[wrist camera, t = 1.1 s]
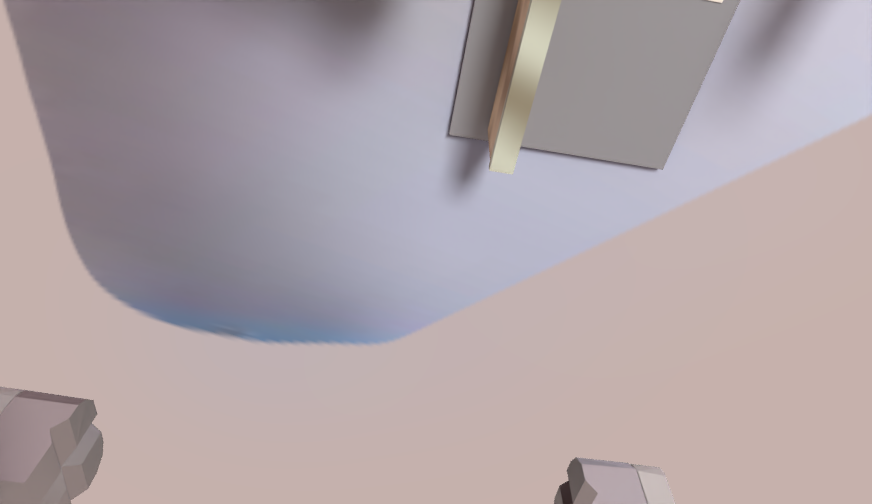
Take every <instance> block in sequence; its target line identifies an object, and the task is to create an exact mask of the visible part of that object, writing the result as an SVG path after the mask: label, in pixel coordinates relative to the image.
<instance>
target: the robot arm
mask: <svg viewBox="0 0 872 504" xmlns="http://www.w3.org/2000/svg"><path fill="white" fill-rule="evenodd" d="M96 415H97V412H96V408H95V405H94V401H93V400H88V399H81V398H74V397H68V396H61V395H54V394H48V393H41V392H34V391H27V390H19V389H12V388H4V387H0V504H71V500H72V499H73V498H75V497H76V496H78V495H79V494H81V493H82V492H84V491H85V490H87V489H88V488H89V486H90V484H91V482H92V480H93V479H94V477H95V475H96V473H97V470H98V467H99V464H100V461H101V458H102V454H103V438H102V433H101V431H100V430H98V428H96V427H95V426H94V425H93V424H92V421H93V420H94V418H95V416H96ZM567 474H568V479H569V481H567V482H565V483H564V484H562V485H560V486H559V489H558V491H557V494H556V496H555V500H554V504H676V503H675V500H674V498H673V495H672V492H671V489H670V487H669V484H668V481H667V479H666V476H665V473H664V472H663V471H662V470H661V469H660V468H658V467H651V466H642V465H634V464H628V463H623V462H613V461H604V460H594V459H584V458H575V459H573V460H572V461H571V463H570V465H569V467H568V469H567Z"/></svg>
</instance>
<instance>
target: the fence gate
mask: <svg viewBox="0 0 872 504" xmlns="http://www.w3.org/2000/svg"><path fill="white" fill-rule="evenodd" d="M560 4H561V0H518V4H517V8H516V12H515V16H514V20H513V25H512V29H511V33H510V37H509V41H508V46H507V50H506V54H505V58H504V63H503V67H502V71H501V75H500V79H499V84H498V88H497V92H496V96H495V101H494V105H493V109H492V113H491V117H490V122H489V126H488V141H489V152H490V164H489V171H495V172H501V173H507V174H513V172H514V168H515V164H516V161H517V157H518V154H519V150H520V147H521V143H522V139H523V136H524V132H525V129H526V125H527V122H528V118H529V114H530V111H531V107H532V104H533V100H534V97H535V93H536V89H537V86H538V82H539V79H540V75H541V72H542V68H543V64H544V61H545V57H546V54H547V50H548V47H549V43H550V39H551V36H552V32H553V29H554V25H555V22H556V18H557V14H558V11H559V7H560Z"/></svg>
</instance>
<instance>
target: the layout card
mask: <svg viewBox="0 0 872 504" xmlns="http://www.w3.org/2000/svg"><path fill="white" fill-rule="evenodd" d="M739 2H740V0H561V4H560V7H559V11H558V14H557V18H556V22H555V25H554V29H553V32H552V36H551V39H550V43H549V47H548V50H547V54H546V57H545V61H544V64H543V68H542V72H541V75H540V79H539V82H538V86H537V89H536V93H535V97H534V100H533V104H532V107H531V111H530V114H529V118H528V122H527V125H526V129H525V132H524V136H523V139H522V143H521V147H527V148H533V149H539V150H546V151H552V152H558V153H564V154H570V155H576V156H582V157H589V158H595V159H601V160H607V161H613V162H619V163H625V164H631V165H638V166H644V167H650V168H656V169H662V170H663V168H664V166H665V163H666V161H667V159H668V157H669V155H670V153H671V150H672V148H673V146H674V144H675V142H676V139H677V137H678V135H679V133H680V131H681V129H682V126H683V124H684V122H685V120H686V118H687V115H688V113H689V111H690V109H691V107H692V105H693V102H694V100H695V98H696V96H697V94H698V91H699V89H700V87H701V85H702V83H703V81H704V78H705V76H706V74H707V72H708V70H709V68H710V65H711V63H712V61H713V59H714V57H715V54H716V52H717V50H718V48H719V46H720V44H721V41H722V39H723V37H724V35H725V33H726V30H727V28H728V26H729V24H730V22H731V20H732V17H733V15H734V13H735V11H736V9H737V6H738V4H739ZM517 4H518V0H475V1H474V6H473V11H472V16H471V21H470V27H469V32H468V37H467V42H466V47H465V52H464V58H463V63H462V68H461V73H460V78H459V83H458V89H457V94H456V99H455V104H454V109H453V115H452V120H451V125H450V130H449V135H454V136H460V137H466V138H472V139H478V140H484V141H488V126H489V122H490V117H491V113H492V109H493V105H494V101H495V96H496V92H497V88H498V84H499V79H500V75H501V71H502V67H503V63H504V58H505V54H506V50H507V46H508V41H509V37H510V33H511V29H512V25H513V20H514V16H515V12H516V8H517Z"/></svg>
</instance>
